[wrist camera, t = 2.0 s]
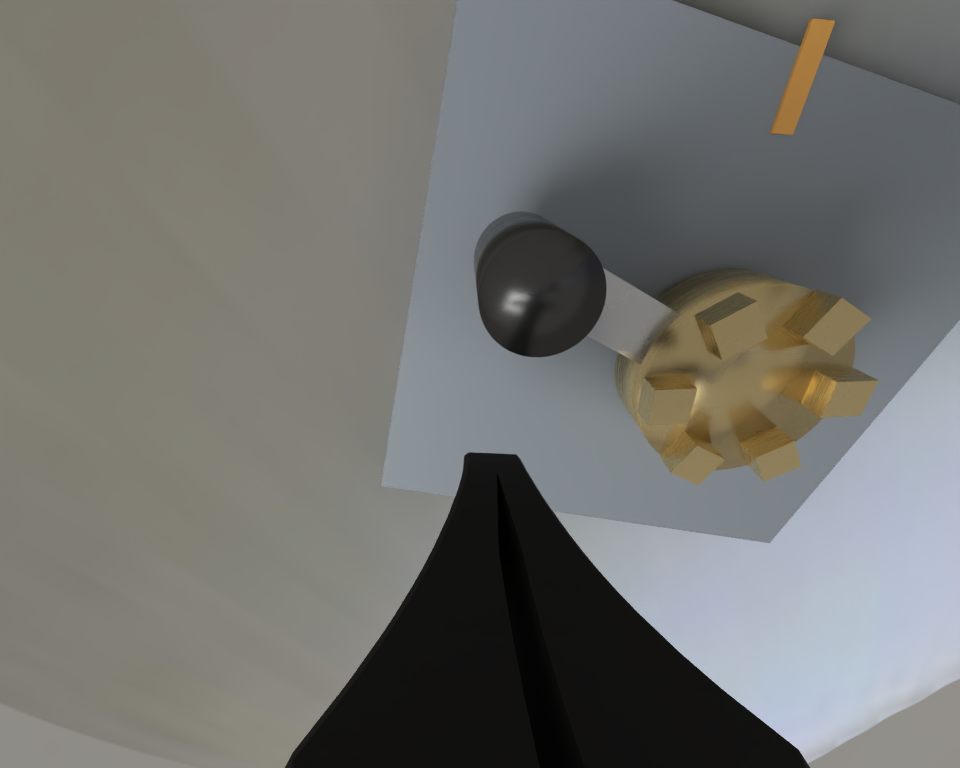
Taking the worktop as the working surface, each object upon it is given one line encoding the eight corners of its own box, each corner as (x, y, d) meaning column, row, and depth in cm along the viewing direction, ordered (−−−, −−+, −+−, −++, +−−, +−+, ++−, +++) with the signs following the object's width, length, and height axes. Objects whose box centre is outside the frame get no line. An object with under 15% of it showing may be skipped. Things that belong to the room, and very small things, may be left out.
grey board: (1051, 135, 13) (1125, 130, 11) (749, 519, 21) (770, 544, 19) (473, -76, 10) (475, -117, 8) (386, 462, 18) (380, 487, 17)
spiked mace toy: (838, 323, 13) (1030, 402, 9) (706, 454, 16) (802, 567, 12) (535, 114, 10) (591, 71, 6) (430, 320, 13) (413, 403, 8)
